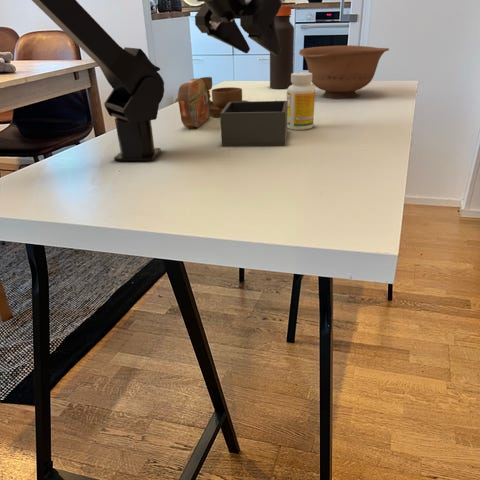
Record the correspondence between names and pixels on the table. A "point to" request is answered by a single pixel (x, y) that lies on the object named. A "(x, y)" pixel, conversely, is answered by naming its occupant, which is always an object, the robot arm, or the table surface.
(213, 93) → the place setting
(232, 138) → the bin
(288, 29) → the brown bottle
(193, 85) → the tin
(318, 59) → the bowl
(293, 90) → the supplement bottle
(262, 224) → the table surface
